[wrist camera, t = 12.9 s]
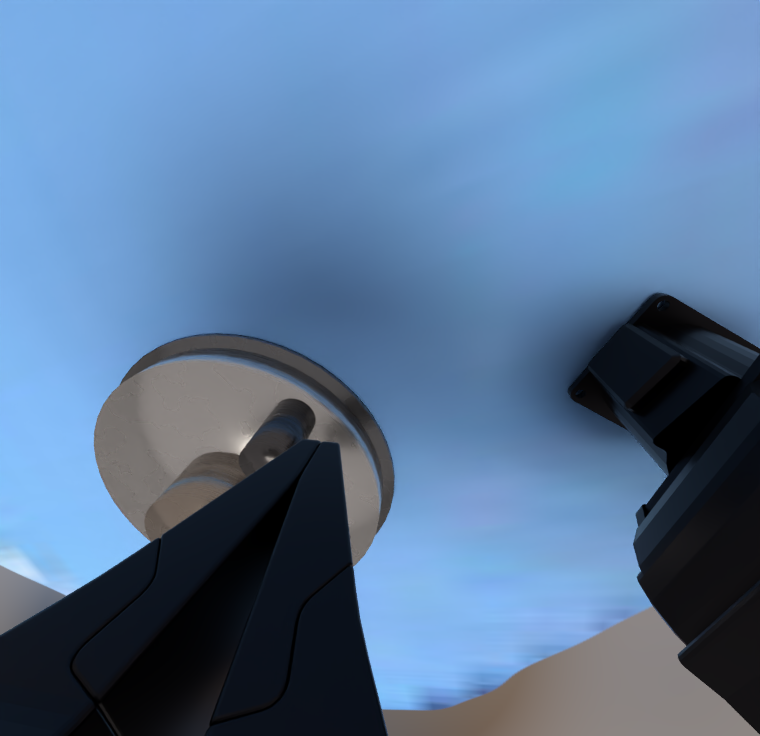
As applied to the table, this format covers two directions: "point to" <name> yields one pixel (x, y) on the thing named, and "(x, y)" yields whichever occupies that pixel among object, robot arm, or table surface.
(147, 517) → the cover
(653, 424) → the robot arm
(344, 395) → the turntable base
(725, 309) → the table surface
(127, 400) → the turntable
